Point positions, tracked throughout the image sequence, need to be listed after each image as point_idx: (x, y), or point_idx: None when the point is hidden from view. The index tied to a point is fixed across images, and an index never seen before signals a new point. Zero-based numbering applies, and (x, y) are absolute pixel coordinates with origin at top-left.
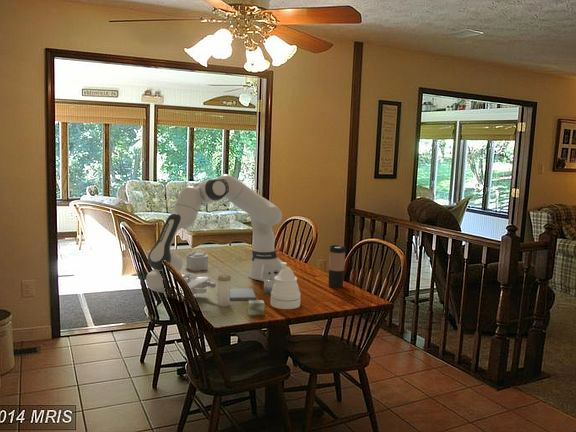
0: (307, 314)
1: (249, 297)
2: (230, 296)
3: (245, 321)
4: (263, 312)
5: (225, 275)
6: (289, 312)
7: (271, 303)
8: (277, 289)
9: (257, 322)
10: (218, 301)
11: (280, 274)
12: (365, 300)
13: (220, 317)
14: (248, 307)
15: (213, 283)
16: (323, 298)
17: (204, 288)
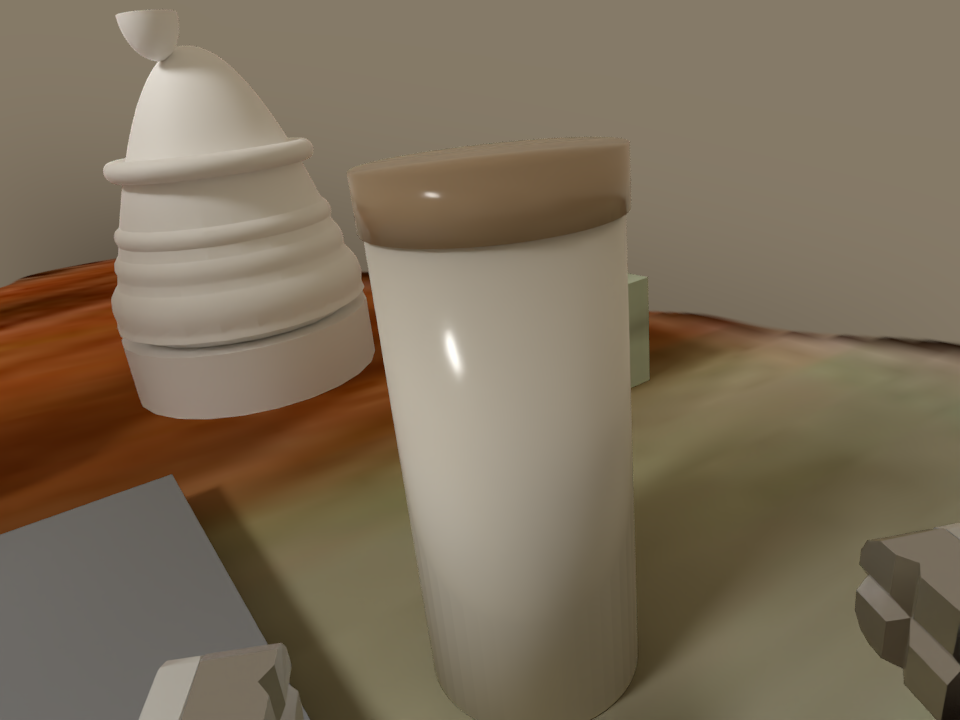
0: None
1: (190, 507)
2: None
3: (787, 347)
4: None
5: (391, 167)
6: None
7: (320, 376)
8: (319, 229)
9: (728, 321)
10: (631, 618)
11: (244, 108)
12: (103, 278)
13: (940, 452)
14: None
15: (245, 664)
16: (77, 331)
17: (915, 555)
